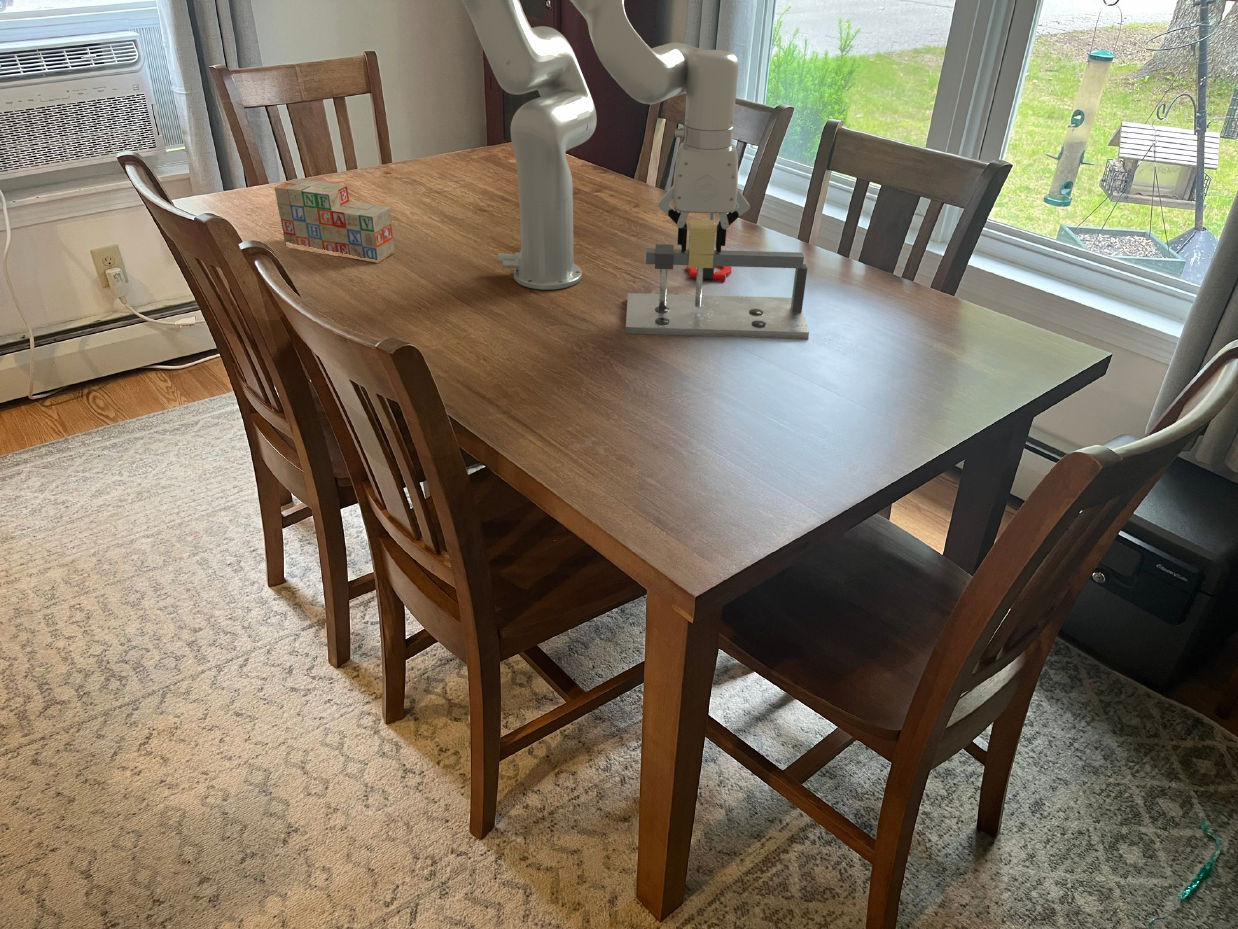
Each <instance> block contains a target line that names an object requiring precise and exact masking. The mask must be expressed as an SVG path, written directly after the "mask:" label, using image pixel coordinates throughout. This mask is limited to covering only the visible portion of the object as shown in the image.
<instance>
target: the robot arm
mask: <svg viewBox="0 0 1238 929" xmlns="http://www.w3.org/2000/svg"><path fill="white" fill-rule="evenodd" d="M461 2H462V4H463V6H464V8H465V10H466V12H467V14H468V16H469V18H470V20H471V22H472V25H473V27H474V31H475V33H476V35H477V38H478V40H479V42H480V44H481V47H482V49H483V52H484V54H485V57H486V58H487V61H488V64H489V65H490V68H491V71H492V74H494V77H495V79H496V81H497V83H498V85H499V86H500V88H501V89H502V90H503V91H505V92H506V93H508V94H510V95H524V94H527V93H531V92H535V91H538V94H539V96H540V97H537V98H534V99H531V100H530V101H529V100H528V102H525V103H524V104H523V105H521V106H520V107H519V108H518V109H517V110H516V112H515V113H514V115H513V117H512V120H511V123H510V140H511V145H512V148H513V152H514V157H515V163H516V172H517V186H518V187H517V188H518V189H517V190H518V204H519V225H520V226H519V229H520V231H519V232H520V251H519V252H515V253H514V254H511V253H503V252H502V253H501V252H500V253H499V252H498V254H497V264H498V265H502V269H510V268H513V269H514V270H513V279H514V280H515V282H517V284H519V285H521V286H523V287H526V288H529V289H534V290H547V291H549V290H550V291H551V290H561V289H565V288H569V287H572V286H574V285H576V284H577V283H579V282H580V281H581V280H582V277H583V271H582V268H581V267H580V266H578V264H576V263H574V194H573V192H574V191H573V185H574V184H573V177H572V176H573V175H572V171H571V168H570V165H569V162H568V160H567V156H566V155H567V154H566V152H567V151H569V150H570V149H573V148H576V147H578V146H580V145H582V144H583V143H585V142H587V141H588V140H590V138H591V137H592V136H593V134H594V133H595V131H596V128H597V122H598V120H597V111H596V107H595V106H596V105H595V103H594V100H593V97H592V95H591V93H590V90H589V88H588V85H587V81H586V79H585V78H584V74H583V73H582V70H581V67H580V65H579V62H578V59H577V56H576V54H575V52H574V49H573V47H572V46H571V45H570V42H569V41H568V39H566V37H565V36H564V35H563V34H562V33H561V32H560V31H558V30H557V29H555V28H554V27H550V26H546V25H545V26H540V25H539V26H534V27H531V25H530V22H529V21H528V19H527V16H526V15H525V12H524V9H523V7H522V3H521V1H520V0H461ZM569 2H571V3H572V5H573V6H574V7H575V8H576V9H577V11H578V12H580V14H581V15H582V16H583V18H584V19H585V21H586V23H587V27H588V28H587V29H588V32H589V36H590V39H591V42H592V44H593V45H592V46H593V48H594V50H595V53H596V56H597V58H598V59H599V61H600V62H601V64H602V66H603V67H604V68H605V70H606V71H607V72H608V74H610V76H611V77H612V78H613V79H614V80H615V81H616V83H617V84H618V85H619V86H620V88H621V89H623V91H624V92H625V93H626V94H627V95H628V96H630V97H631V98H632V99H634V100H635V101H636V102H638V103H641V104H644V105H645V104H646V105H655V104H659V103H661V102H663V101H666V100H668V99H670V98H674V97H678V96H681V95H685V94H686V95H685V115H684V116H685V117H684V125H682V127H679V128H675V129H674V138H675V139H676V138H677V139H678V138H679V139H681V140H682V141H683V142H681V143H680V144H679V147H678V150H677V154H676V158H675V159H676V160H675V167H674V174H673V184H672V186H671V187H670V188H669V189H668V191H666V193H665V194H664V195H663V196H662V197H661V198H660V199H659V201H658V203H657V204H658V208H659V209H660V210H661V211H662V212H664V213H665V215H667V216H668V217H669V218H670V219H671V221H672V222H673V223H675V224H676V226H677V245H678V246H681V248H680V249H682V252H685V251H686V249H687V242H688V239H687V238H688V224H687V219H688V217H689V214H692V213H693V214H710V213H715V214H718V217H719V221H718V223H717V224H716V232H715V250H716V252H718V253H721V250H722V247H726V242H727V241H726V240H727V230H728V229H729V226H731V225H732V224H733V223H734V222H735V221H736V220H737V219H738V218H739V217H740V216H743V215H744V214H745V213H747V212H748V211H749V210H750V208H751V206H750V202H748V201H747V199H746V197H744V195H743V194H742V193H741V191H740V190H739V188H738V187H739V186H738V185H739V184H738V181H739V180H738V179H739V177H738V176H739V159H738V157H739V156H738V150H737V149H738V148H737V147H736V146H735V144H733V135H734V123H735V113H736V112H735V110H736V100H737V88H738V76H739V75H738V73H739V61H738V58H737V56H736V55H735V54H734V53H732V52H730V51H728V50H727V51H726V50H720V49H703V48H699V47H695V46H693V45H689V44H686V43H682V42H669V43H665V44H663V45H658V46H654V47H652V48H651V47H650V46H649V45H648V44H647V43H646V42H645V41H644V40H643V38H642V37H641V36H640V35H639V33H638V32H637V31H636V30H635V29H634V27H633V25H632V23H631V22H630V21H629V18H628V17H627V14H626V10H625V0H569ZM671 202H672V204H673V206H671V204H670V203H671ZM737 204H738V205H737Z"/></svg>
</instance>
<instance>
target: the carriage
mask: <svg viewBox="0 0 1238 929" xmlns="http://www.w3.org/2000/svg"><path fill="white" fill-rule="evenodd" d="M714 222H715V219H714V220H710V219H689V225H688V226H689V230H688V241H687V242H688V244H687V245H688V246H687V249H689V261H688V267H691V268H696V269H697V279H695V281H696V283H695V294H694V295H695V307H701V295H703V294H702V292H703V281H704V280H703V268H713V256H714V250H715V243H716V222H715V223H714Z"/></svg>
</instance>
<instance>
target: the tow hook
mask: <svg viewBox="0 0 1238 929" xmlns="http://www.w3.org/2000/svg"><path fill="white" fill-rule="evenodd" d="M709 214H710V215H709V216H710V217H709V220H714V223H715V224H716V222H715V218H716V216H715V214H716V213H709ZM686 266H687V267H686V271H687V272H688V273H689V279H691V280H697V268H691V267H688V265H686ZM716 268H719V269H721V270H719V271H715V266H713V268H703V280H702V281H707V280H713V281H714V280H715V282H717V281H718V282H725V281H726V279H727V278H726V277H728V276H730V275H731V274H732V268H733V267H731V266H716Z"/></svg>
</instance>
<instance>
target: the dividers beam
mask: <svg viewBox="0 0 1238 929" xmlns="http://www.w3.org/2000/svg"><path fill="white" fill-rule="evenodd" d="M804 259H805V256H804V253H803V252H796V251H795V252H789V251H763V250H762V251H757V250H756V251H755V250H754V251H753V250H723V249H721V253H718V252H716V249H714V256H713V266H714V267H715V266H731V268H733V267H735V268H737V267H738V268H740V267H741V268H772V269H776V268H777V269H795V270H794V278H793V288H792V295H791V298H792V302H791V309H792V312H802V311H803V306H804V305H803V304H804V297H805V291H806V290H805V289H806V284H807V283H806V282H807V275H808V274H807V273H808V266H807V264H805V263H804ZM688 261H689V249H688V248H686V251H685V252H682V249H681V248H679V249H678V248H674V244H659V243H657V244H655V248H654V247H653V248H652V247H651V248H649V247H648V248H646V254H645V264H646V265H654V269H655V270H659V271H660V272H659V273H660V274H659V293H658V294H659V310H661V311H663V310H666V294H668V293H667V291H668V290H667V288H668V270H674V266H687V265H688Z"/></svg>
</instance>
